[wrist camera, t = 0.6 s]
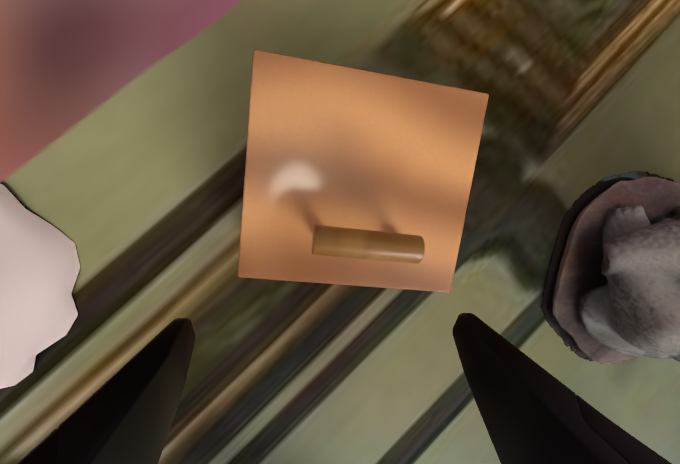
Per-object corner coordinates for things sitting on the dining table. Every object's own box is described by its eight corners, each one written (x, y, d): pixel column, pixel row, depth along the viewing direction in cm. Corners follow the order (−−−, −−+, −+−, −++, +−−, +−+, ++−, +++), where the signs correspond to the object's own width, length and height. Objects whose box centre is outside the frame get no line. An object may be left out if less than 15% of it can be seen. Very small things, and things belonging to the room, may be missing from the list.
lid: (445, 288, 21) (484, 318, 17) (239, 273, 19) (221, 302, 15) (482, 97, 19) (537, 71, 15) (255, 54, 17) (239, 9, 12)
